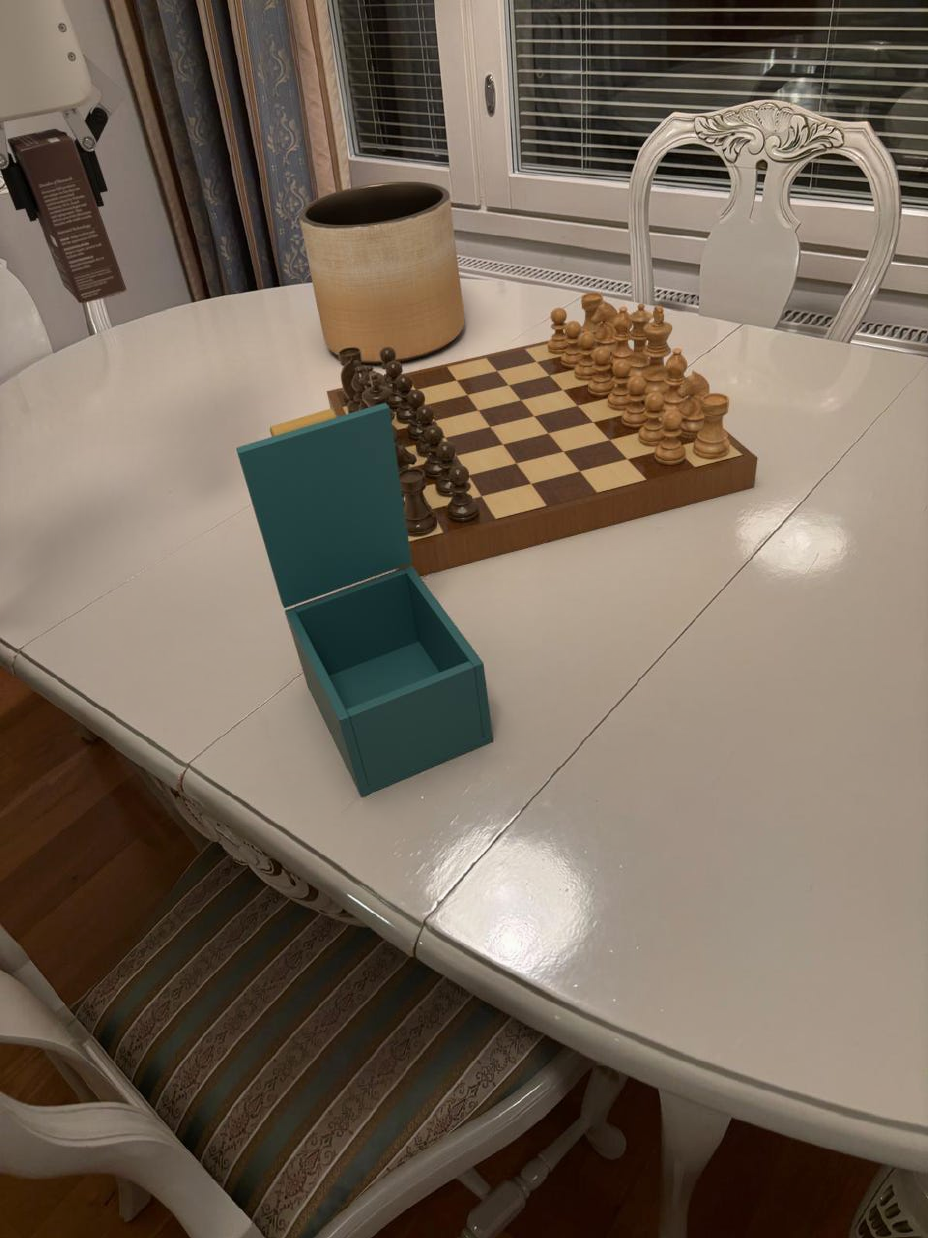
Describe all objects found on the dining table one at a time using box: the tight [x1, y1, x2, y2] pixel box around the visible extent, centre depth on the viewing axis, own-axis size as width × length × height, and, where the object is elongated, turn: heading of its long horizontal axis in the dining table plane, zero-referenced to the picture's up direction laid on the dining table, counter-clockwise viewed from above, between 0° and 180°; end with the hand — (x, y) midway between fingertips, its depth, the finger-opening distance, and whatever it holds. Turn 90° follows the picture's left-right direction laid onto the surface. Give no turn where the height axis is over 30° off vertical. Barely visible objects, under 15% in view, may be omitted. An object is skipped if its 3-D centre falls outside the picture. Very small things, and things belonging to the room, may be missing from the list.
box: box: [6, 128, 127, 304], centre depth 73 cm, size 6×4×12 cm
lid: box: [235, 403, 412, 609], centre depth 71 cm, size 15×12×5 cm
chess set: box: [326, 292, 759, 577], centre depth 103 cm, size 40×40×15 cm
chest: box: [284, 565, 494, 798], centre depth 73 cm, size 15×12×9 cm
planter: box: [298, 181, 465, 365], centre depth 132 cm, size 22×22×20 cm
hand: (65, 207), depth 72 cm, fingers closed on box, 4 cm apart
